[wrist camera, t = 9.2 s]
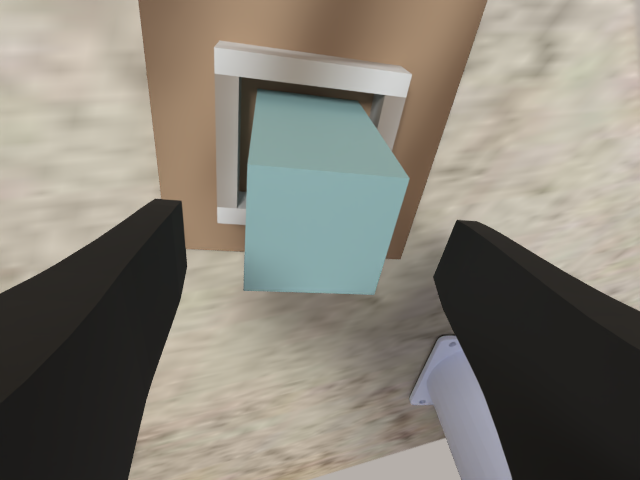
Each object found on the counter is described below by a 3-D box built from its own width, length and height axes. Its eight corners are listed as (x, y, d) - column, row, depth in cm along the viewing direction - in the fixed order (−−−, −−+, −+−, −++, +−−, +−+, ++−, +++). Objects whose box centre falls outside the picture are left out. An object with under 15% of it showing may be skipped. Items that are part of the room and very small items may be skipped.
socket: (475, -5, 14) (509, -1, 12) (395, 248, 21) (408, 277, 19) (140, -65, 12) (113, -72, 10) (171, 236, 19) (159, 267, 17)
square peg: (358, 100, 15) (409, 178, 9) (340, 189, 17) (374, 294, 12) (257, 88, 14) (247, 164, 9) (253, 182, 17) (243, 290, 11)
